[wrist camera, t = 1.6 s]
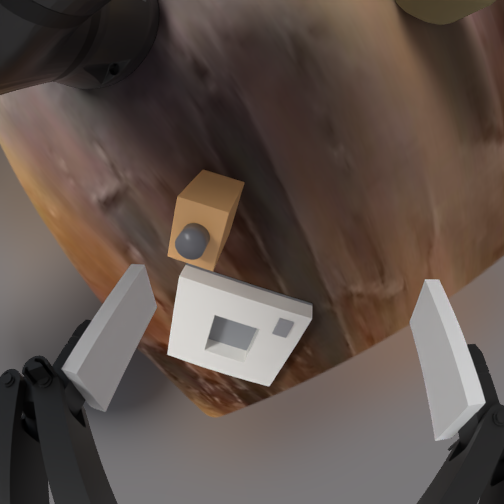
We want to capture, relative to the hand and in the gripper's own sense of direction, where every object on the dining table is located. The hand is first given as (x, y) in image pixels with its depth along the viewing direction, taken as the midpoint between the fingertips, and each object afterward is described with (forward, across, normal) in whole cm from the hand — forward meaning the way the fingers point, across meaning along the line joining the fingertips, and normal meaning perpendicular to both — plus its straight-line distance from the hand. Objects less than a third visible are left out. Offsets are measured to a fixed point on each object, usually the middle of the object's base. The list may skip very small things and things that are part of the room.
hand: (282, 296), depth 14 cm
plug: (+22, -9, -6) cm, 24 cm away
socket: (+22, -8, -26) cm, 35 cm away
